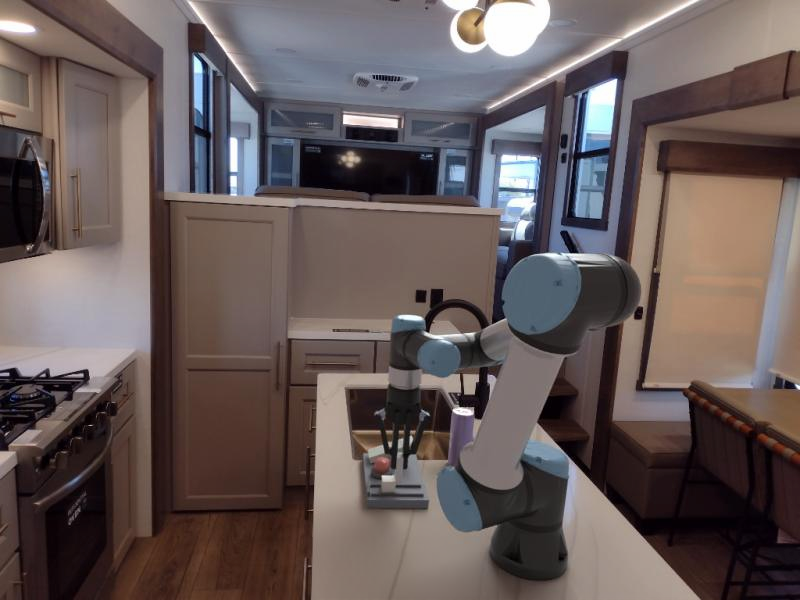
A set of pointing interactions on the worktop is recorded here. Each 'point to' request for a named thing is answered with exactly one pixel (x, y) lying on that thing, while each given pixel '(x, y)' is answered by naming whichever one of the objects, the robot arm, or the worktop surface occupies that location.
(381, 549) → the worktop surface
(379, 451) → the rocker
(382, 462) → the button
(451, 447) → the beverage can
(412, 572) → the worktop surface
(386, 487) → the slider knob
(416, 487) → the console
